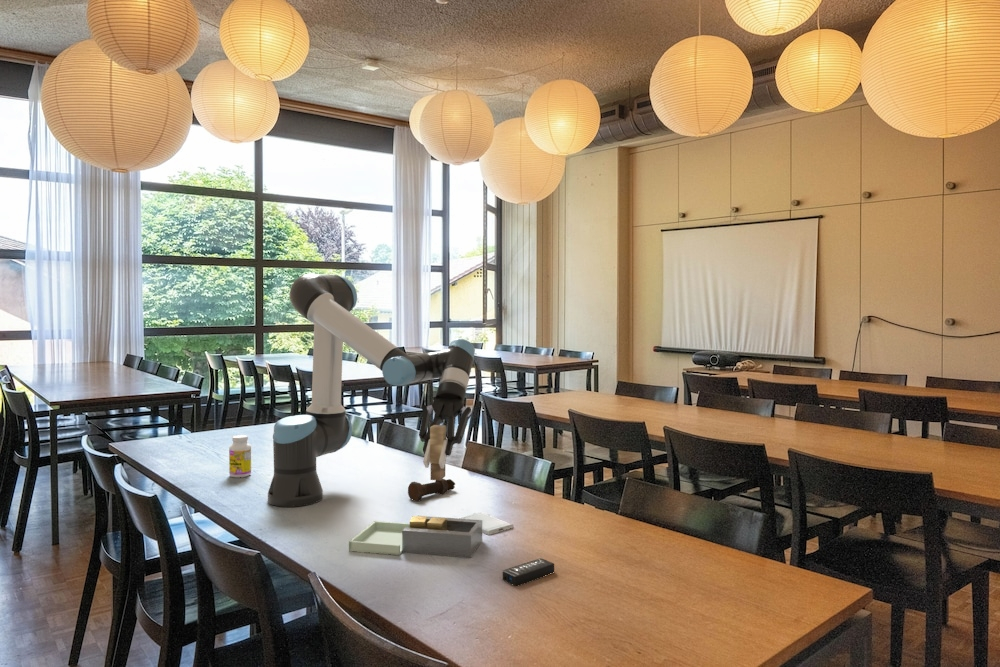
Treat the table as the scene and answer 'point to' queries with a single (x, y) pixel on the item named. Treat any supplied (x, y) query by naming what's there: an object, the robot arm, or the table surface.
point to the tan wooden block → (437, 524)
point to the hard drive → (489, 523)
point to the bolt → (429, 488)
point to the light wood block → (418, 522)
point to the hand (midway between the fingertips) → (433, 464)
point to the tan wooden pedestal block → (436, 450)
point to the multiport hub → (528, 571)
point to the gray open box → (444, 538)
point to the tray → (379, 538)
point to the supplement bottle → (240, 457)
